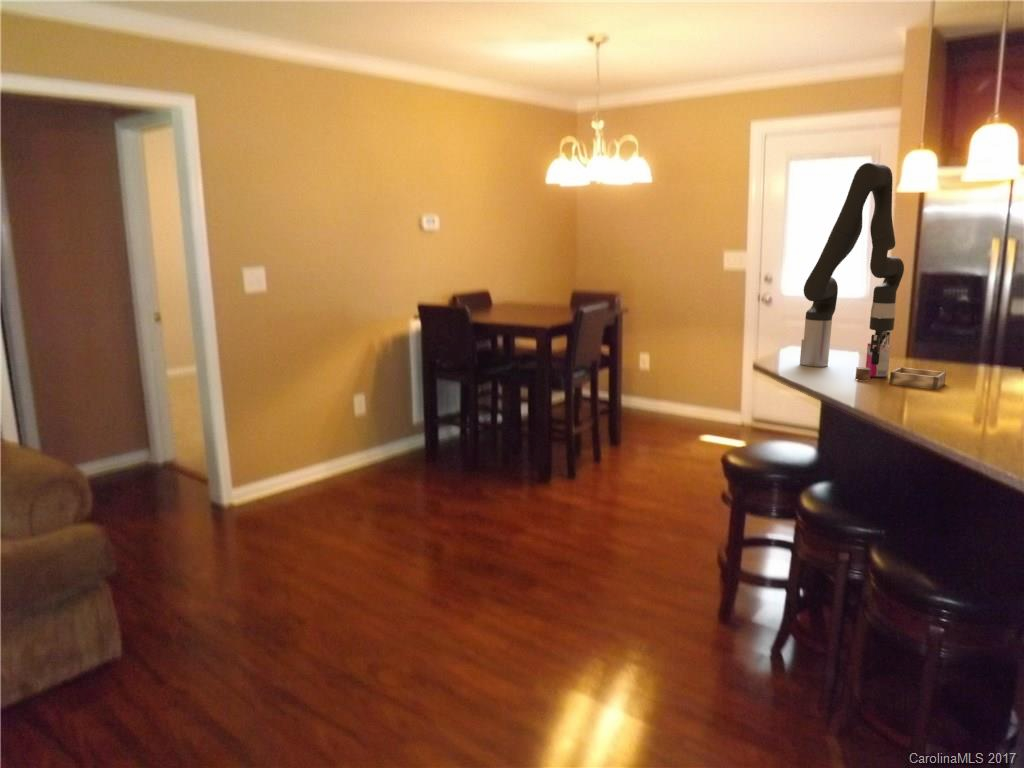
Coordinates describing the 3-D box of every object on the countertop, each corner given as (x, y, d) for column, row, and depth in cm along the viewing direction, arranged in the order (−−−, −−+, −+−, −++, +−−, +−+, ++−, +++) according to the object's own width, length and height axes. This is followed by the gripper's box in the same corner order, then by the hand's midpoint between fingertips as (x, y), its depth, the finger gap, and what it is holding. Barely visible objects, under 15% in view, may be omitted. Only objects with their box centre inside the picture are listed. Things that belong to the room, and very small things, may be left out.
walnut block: (856, 380, 255) (857, 368, 254) (855, 378, 258) (856, 366, 258) (869, 381, 253) (870, 369, 253) (868, 379, 257) (869, 367, 256)
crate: (889, 383, 249) (890, 372, 248) (898, 378, 258) (899, 367, 257) (936, 389, 240) (938, 377, 239) (944, 384, 249) (946, 372, 248)
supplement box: (881, 375, 264) (884, 342, 262) (887, 378, 258) (891, 345, 256) (864, 374, 265) (867, 342, 262) (870, 378, 259) (873, 345, 256)
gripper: (876, 313, 265) (872, 359, 268) (865, 317, 254) (860, 364, 257) (899, 315, 260) (895, 361, 263) (889, 318, 249) (884, 366, 253)
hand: (878, 362), depth 260 cm, fingers open, 8 cm apart
